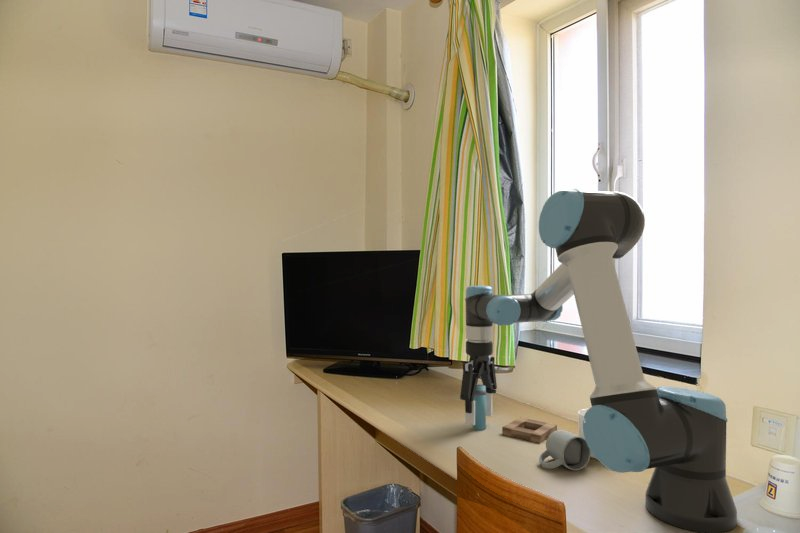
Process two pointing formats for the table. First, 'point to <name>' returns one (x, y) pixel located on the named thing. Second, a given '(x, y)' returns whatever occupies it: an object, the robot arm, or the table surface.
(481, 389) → the banded teal cylinder
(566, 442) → the ceramic mug
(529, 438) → the square hole plate
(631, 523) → the table surface
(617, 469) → the robot arm
